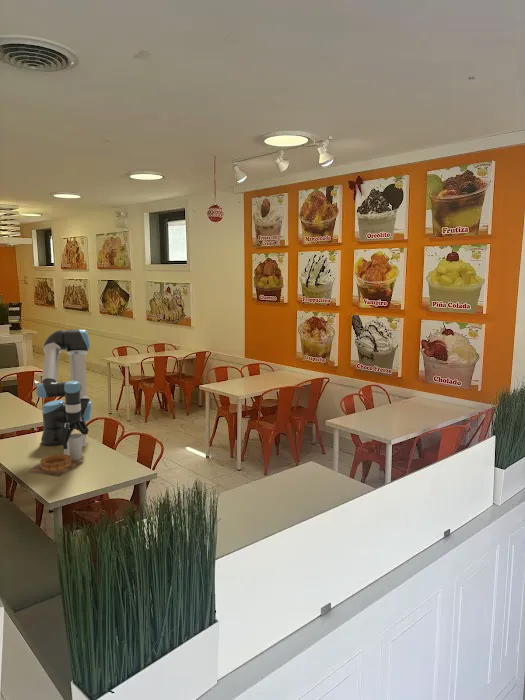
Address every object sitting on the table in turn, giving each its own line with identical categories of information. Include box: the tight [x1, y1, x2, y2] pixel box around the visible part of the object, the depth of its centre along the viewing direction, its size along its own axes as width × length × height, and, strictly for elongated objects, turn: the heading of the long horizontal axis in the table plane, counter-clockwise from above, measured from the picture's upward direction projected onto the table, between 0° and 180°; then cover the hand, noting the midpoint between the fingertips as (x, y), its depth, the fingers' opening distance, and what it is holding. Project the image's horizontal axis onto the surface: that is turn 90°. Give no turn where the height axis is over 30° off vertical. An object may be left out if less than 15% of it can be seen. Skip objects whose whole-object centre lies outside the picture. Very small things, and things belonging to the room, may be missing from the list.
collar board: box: [28, 453, 83, 477], centre depth 266 cm, size 18×18×4 cm
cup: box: [68, 433, 83, 460], centre depth 278 cm, size 8×8×12 cm
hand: (75, 450), depth 278 cm, fingers open, 13 cm apart
